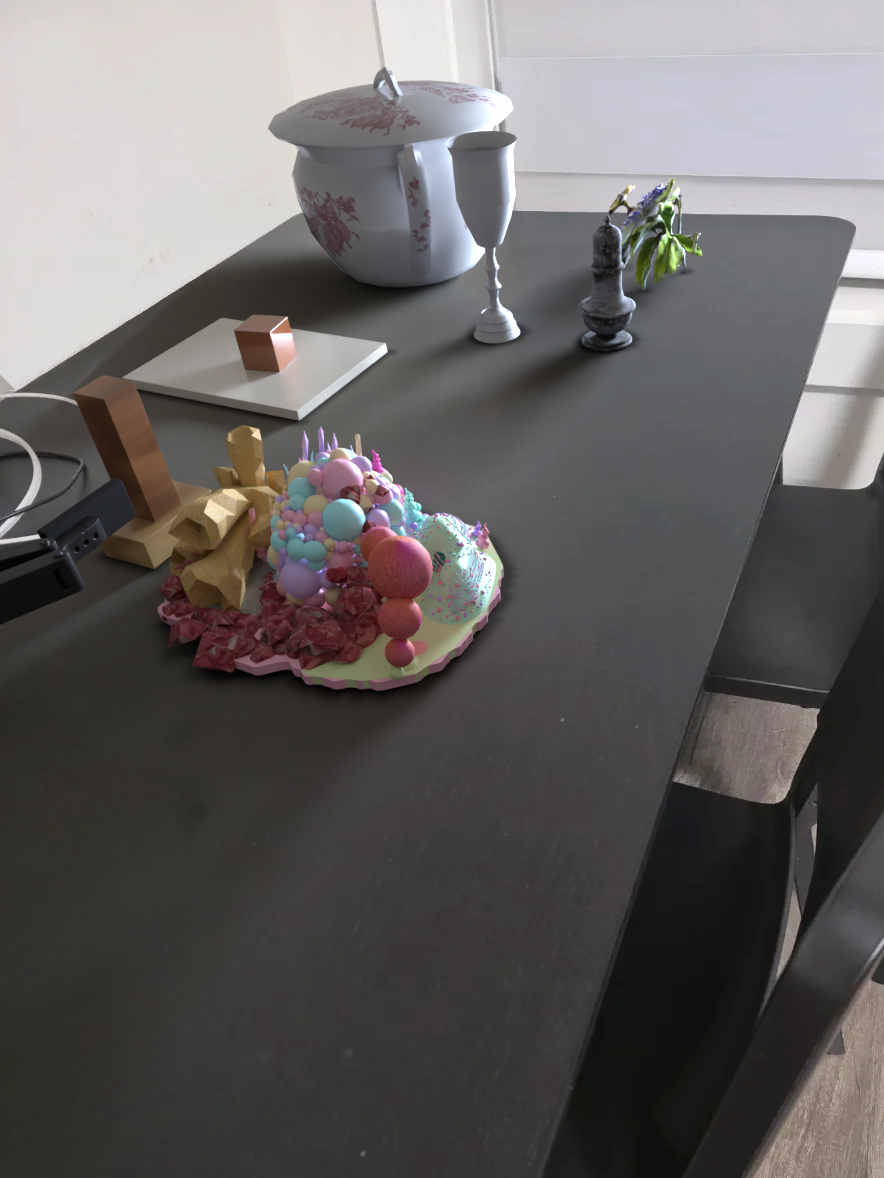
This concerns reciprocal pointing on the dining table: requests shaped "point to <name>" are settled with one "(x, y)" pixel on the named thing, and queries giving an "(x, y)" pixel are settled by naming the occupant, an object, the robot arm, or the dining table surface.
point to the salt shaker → (607, 294)
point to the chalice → (487, 213)
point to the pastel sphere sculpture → (324, 572)
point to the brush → (134, 470)
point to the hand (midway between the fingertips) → (51, 478)
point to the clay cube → (265, 343)
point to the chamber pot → (388, 175)
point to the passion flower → (648, 220)
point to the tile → (220, 377)
